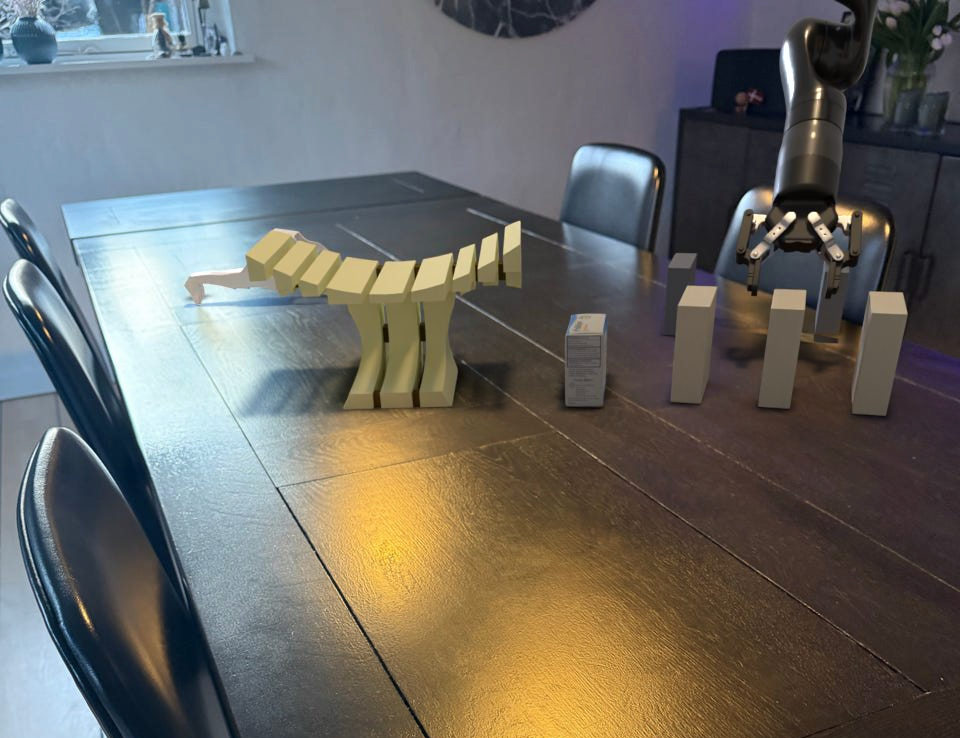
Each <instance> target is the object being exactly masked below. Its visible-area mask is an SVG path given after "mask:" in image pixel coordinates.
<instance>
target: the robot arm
mask: <svg viewBox="0 0 960 738" xmlns="http://www.w3.org/2000/svg"><path fill="white" fill-rule="evenodd" d="M833 1H835V2H836V3H838V4H840V5H842V6H843V7H845V8H847V9H848V10H849V11H850V12H851V16H850V20H849V22H848V23H843V22H839V21H834V20H829V19H824V18H820V17H814V16H805V17H802V18H800V19H797V21H795V22H794V23H793V24H792V25H791V26H790V27H789V29H788V30H787V32H786V33H785V35H784V37H783V40H782V43H781V46H780V51H779V52H780V53H779V74H780V80H781V81H780V82H781V86H782V91H783V95H784V103H785V113H786V115H785V122H784V128H783V135H782V142H781V146H780V148H779V152H778V157H777V161H776V168H775V177H774V182H773V192H772V197H771V205H770V208H769V211H768V212H767V213H766V214H757V213H756V214H755V212H754V210H753V209H751V208H747V209H745V210H744V211H743V214H742V220H741V224H740V228H739V232H738V233H739V234H738V238H737V242H736V247H735V261H734V262H735V263H736V264H737V265H740V266H741V265H745V266H747V267H748V271H747V277H746V288H745V289H746V291H747V292H750V297H758V291H759V286H760V285H759V284H760V277H761V271H762V265H763V264H765V262H766V261H768V260H771V259H772V258H773V257H774V256H775V255H776V254H777V253H778V252H779V251H780V250H781V251H783V253H789V254H790V253H795V252H799V253H802V254H811V252H812V251H814V252H815V253H816V254H817V256H818V257H819V258H820V260H822V261H823V262H824V261H825V262H826V263H827V265H828V266H829V270H828V276H827V284H826V292H825V299H831V296H832V294H836V293H837V292H838V289H839V285H840V277H841V270H842V269H843V268H845V267H849V268H852V269H853V268H856V267H857V266H858V264H859V258H860V255H861V252H862V237H863V236H862V235H863V219H864V218H863V217H864V215H863V214H864V213H863V212H862V211H861V210H859V209H856V210H854V211H852V213H851V214H848V215H847V214H845V215H839V214H838V212H837V208H836V207H837V200H838V193H839V186H840V185H839V184H840V176H841V172H842V162H843V153H844V152H843V151H844V150H843V149H844V148H843V136H844V129H845V123H846V117H847V116H846V114H847V98H846V96H845V94H844V92H845V91H847V90H849V89H850V88H853V86H854V85H856V84H857V82H858V81H859V80H860V78H861V77H862V75H863V74H864V72H865V69H866V66H867V64H868V59H869V55H870V48H871V41H872V35H873V30H874V29H873V28H874V24H875V19H876V14H877V10H878V7H879V6H878V5H879V3H880V0H833ZM762 227H764V229H765V231H766V232H767V233H766V235H765V236H763V238H762V240H761V242H759V244H757V246H755V248H753V249H751V248H749V246H750V243H751V242H750V241H751V236H752V235H753V236H754V235H756V234H757V233H758V231H759V229H761V228H762ZM837 228H839V229H841V231H842V234H843V235H844V236H845V237H848V238H847V250H846V251H843V250H842V249H841V248H840V247H839V245H838V244H837V242H836V238H835V237H834V235H833V233H834V232H835V231H836V230H837Z"/></svg>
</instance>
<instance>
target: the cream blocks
mask: <svg viewBox="0 0 960 738" xmlns="http://www.w3.org/2000/svg"><path fill="white" fill-rule="evenodd" d="M718 287H719V286H712V285H710V286H709V285H695V286H687V287H686V290H685V292H684V294H683V296H682V298H681V300H680V302H679V304H678V310H677V323H676V336H674V337H675V338H674V352H673V364H672V367H673V368H672V376H671V377H672V378H671V389H670V390H671V391H670V403H682V404H683V403H684V404H696V405H697V404H698V405H701V404H702V401H703V398H704V395H705V391H706V388H707V385H708V382H709V377H710V370H711V369H710V368H711V357H712V349H713V338H714V329H715V328H714V327H715V319H716V308H717V307H716V306H717V297H718ZM908 315H909V314H908V310H907V304H906V300H905V296H904V292H903V291H902V292H899V291H897V292H896V291H872V290H871V291H868V296H867V300H866V306H865V311H864V318H863V322H862V327H861V333H860V339H859V343H858V349H857V353H856V358H855V365H854V370H853V374H852V380H851V385H850V391H851V392H850V393H851V396H850V397H851V413H852V414H853V415H865V416H866V415H867V416H881V417H882V416H883V417H887V412H888V407H889V403H890V398H891V394H892V389H893V385H894V380H895V375H896V371H897V367H898V362H899V358H900V352H901V347H902V343H903V338H904V333H905V330H906V324H907V321H908V320H907V319H908Z"/></svg>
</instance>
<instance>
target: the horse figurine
mask: <svg viewBox="0 0 960 738" xmlns="http://www.w3.org/2000/svg"><path fill="white" fill-rule="evenodd" d="M271 231H279V232H283V233H286V234H289V235H292V238H293V241H294V245H295V244H296V243H297V242H298V240H300V241H303V242H306V243H310V244H313V245H316V246H317V250H318V255H319V254H320V253H321V252H322V251H323V249H324V250H328V251H330V250H329V249H328V248H326V247H325V246H324V245H323V244H322V243H320V242H319V241H314V240H313V241H312V240H309V239H307V238H305V237H304V236H303V235H302V233H301V232H300V231H298V230H293V229H284V228H277V227H275V228H274V229H272V230H271ZM343 262H344V261H342V263H343ZM204 285H214V286H218V287H219V286H220V287H224V288H228V289H231V290H236V289H245V290H246V289H248V290H249V289H250V288H260V289H262V290H269V291H273V292H274V291H275V292H278V289H276V284H275V279H274V277H273V275H272V276H271V277H270V278H269V279H268V280H267V281H251V282H250V279H249V274H248V268H247V264H246V265H245V266H243V267H238V268H232V269H225V270H207V271H201V272H200V271H199V272H193V273H191V274H190V275H189V276H188V278H187V280H185V283H184V284H183V286H184V287H185V289H186V291H187V292H188V293H189V295H190V297H191V300H192V301H193V302H194V305H195V306H196V305H197V306H199V305H198V304H201V305H202V302H203V300H204V297H205V292H206V291H205V286H204Z"/></svg>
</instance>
